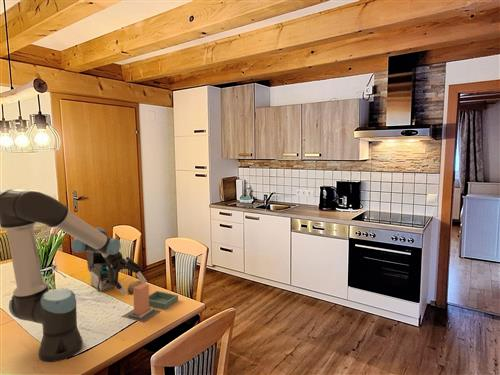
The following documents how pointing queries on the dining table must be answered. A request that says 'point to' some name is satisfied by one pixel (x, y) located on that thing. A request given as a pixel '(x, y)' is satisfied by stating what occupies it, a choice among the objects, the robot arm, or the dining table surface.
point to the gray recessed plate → (143, 317)
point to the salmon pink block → (141, 299)
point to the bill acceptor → (99, 271)
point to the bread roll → (132, 285)
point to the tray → (162, 300)
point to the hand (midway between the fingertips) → (135, 288)
